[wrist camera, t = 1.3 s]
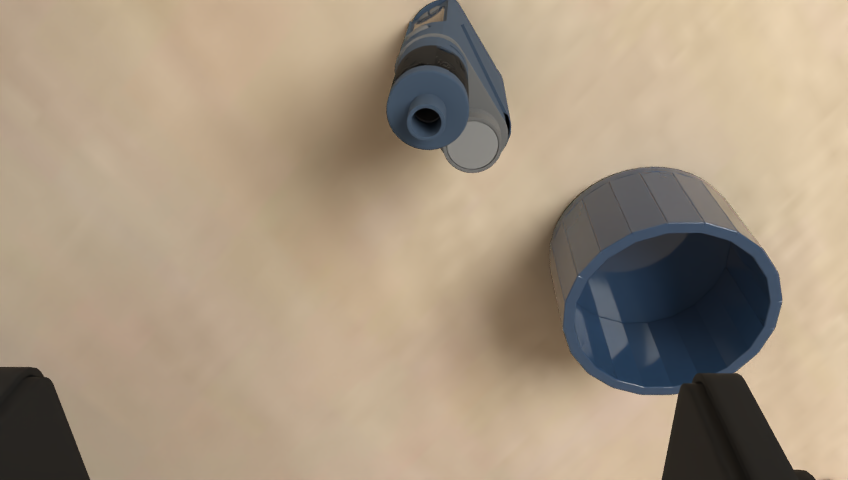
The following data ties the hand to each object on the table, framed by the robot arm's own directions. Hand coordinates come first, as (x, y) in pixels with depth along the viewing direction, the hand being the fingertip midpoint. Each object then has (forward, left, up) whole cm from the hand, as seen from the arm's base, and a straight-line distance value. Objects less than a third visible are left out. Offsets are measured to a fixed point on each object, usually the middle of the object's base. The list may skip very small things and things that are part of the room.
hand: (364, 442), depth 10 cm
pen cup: (+10, +10, -22) cm, 26 cm away
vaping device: (0, +1, -22) cm, 22 cm away
